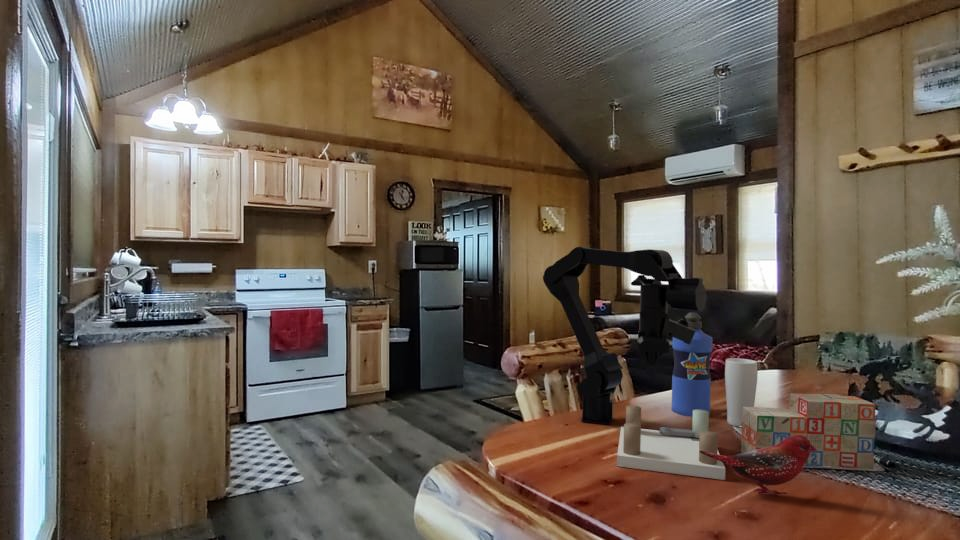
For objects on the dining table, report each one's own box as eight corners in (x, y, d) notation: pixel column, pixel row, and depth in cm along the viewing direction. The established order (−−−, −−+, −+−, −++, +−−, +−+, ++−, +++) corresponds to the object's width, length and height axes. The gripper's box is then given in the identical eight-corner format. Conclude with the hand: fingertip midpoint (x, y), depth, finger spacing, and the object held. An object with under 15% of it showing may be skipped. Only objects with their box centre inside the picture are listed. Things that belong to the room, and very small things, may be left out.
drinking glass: (748, 421, 126) (750, 358, 126) (761, 430, 119) (762, 363, 119) (719, 420, 126) (720, 357, 126) (729, 428, 120) (731, 362, 120)
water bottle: (667, 405, 139) (669, 310, 138) (704, 407, 137) (707, 311, 137) (675, 415, 129) (678, 313, 129) (715, 418, 128) (718, 315, 128)
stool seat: (616, 466, 96) (617, 427, 96) (620, 435, 113) (621, 403, 113) (725, 480, 91) (726, 439, 91) (712, 446, 108) (712, 411, 108)
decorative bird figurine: (819, 502, 83) (821, 439, 82) (700, 492, 86) (701, 430, 86) (811, 494, 85) (813, 433, 85) (696, 484, 89) (697, 425, 88)
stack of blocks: (754, 464, 98) (756, 399, 98) (740, 452, 105) (742, 390, 105) (874, 469, 97) (876, 403, 97) (852, 457, 103) (854, 394, 103)
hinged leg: (660, 434, 107) (660, 410, 107) (658, 430, 110) (659, 406, 110) (709, 439, 105) (710, 414, 105) (706, 434, 108) (707, 410, 108)
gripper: (697, 313, 103) (695, 392, 104) (690, 306, 121) (687, 373, 122) (638, 310, 107) (635, 387, 107) (639, 303, 125) (637, 369, 125)
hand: (651, 379), depth 115 cm, fingers closed
